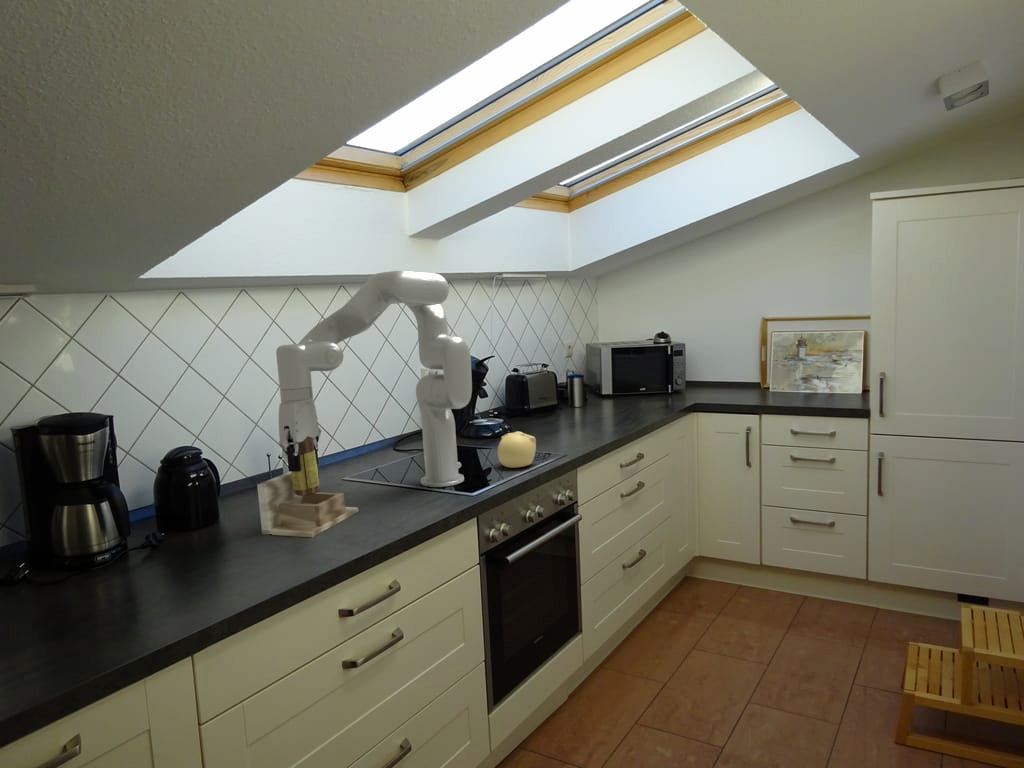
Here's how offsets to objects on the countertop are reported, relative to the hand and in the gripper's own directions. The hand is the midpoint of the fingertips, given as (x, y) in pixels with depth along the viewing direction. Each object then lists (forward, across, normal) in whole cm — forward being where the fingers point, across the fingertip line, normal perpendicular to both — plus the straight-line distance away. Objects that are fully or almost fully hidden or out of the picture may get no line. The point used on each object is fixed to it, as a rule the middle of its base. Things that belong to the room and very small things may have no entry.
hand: (303, 467), depth 174 cm
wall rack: (+14, 0, +1) cm, 14 cm away
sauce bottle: (+7, 0, 0) cm, 7 cm away
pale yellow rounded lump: (+14, -61, +34) cm, 71 cm away
